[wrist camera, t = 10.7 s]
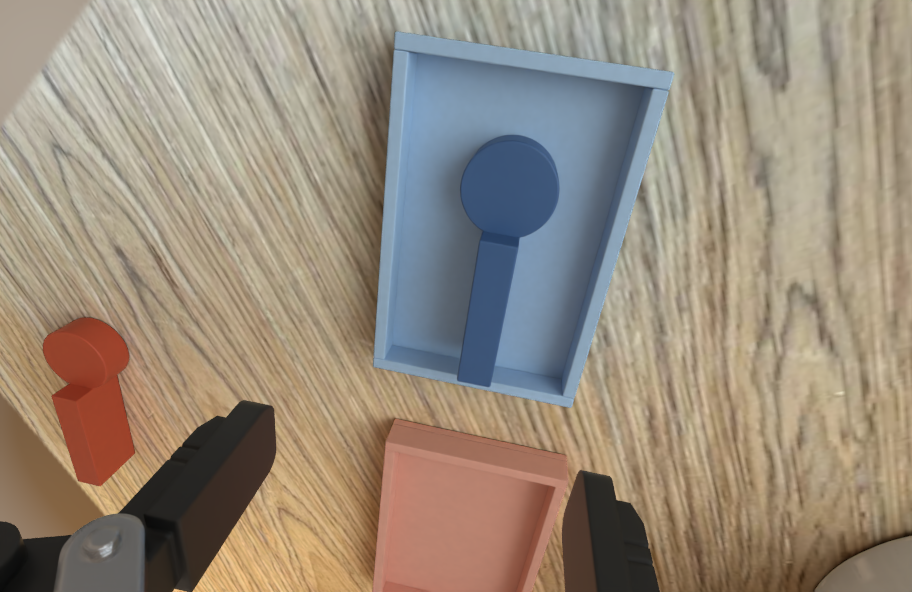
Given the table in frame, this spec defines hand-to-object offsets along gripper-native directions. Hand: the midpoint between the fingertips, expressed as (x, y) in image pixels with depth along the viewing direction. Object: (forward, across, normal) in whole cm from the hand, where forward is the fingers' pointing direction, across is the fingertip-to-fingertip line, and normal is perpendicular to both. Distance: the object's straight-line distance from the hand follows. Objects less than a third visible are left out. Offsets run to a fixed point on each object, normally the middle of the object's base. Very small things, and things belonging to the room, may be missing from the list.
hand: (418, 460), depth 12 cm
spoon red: (+13, +22, +13) cm, 29 cm away
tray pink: (+12, -2, +18) cm, 22 cm away
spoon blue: (+12, -1, -1) cm, 12 cm away
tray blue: (+12, -1, -2) cm, 13 cm away
